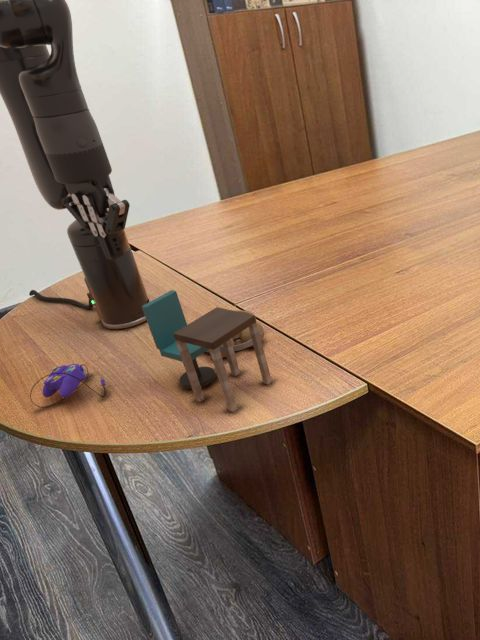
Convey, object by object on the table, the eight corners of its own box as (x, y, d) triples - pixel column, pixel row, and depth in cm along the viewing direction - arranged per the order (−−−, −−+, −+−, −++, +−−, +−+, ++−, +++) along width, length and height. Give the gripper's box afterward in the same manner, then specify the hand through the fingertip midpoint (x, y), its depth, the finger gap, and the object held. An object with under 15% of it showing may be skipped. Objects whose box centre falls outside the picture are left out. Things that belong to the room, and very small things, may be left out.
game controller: (11, 388, 103) (63, 348, 109) (49, 424, 107) (97, 383, 114) (35, 388, 97) (89, 345, 103) (74, 427, 101) (124, 383, 107)
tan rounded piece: (242, 305, 126) (269, 319, 114) (249, 328, 128) (277, 344, 116) (183, 324, 120) (206, 341, 109) (192, 348, 122) (215, 368, 110)
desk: (196, 401, 104) (172, 333, 97) (236, 371, 111) (216, 306, 104) (233, 412, 101) (211, 343, 94) (272, 381, 107) (254, 315, 101)
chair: (169, 384, 108) (141, 306, 100) (197, 366, 112) (171, 289, 105) (198, 393, 105) (170, 313, 98) (224, 373, 110) (201, 295, 102)
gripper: (126, 140, 93) (163, 253, 102) (67, 136, 99) (107, 243, 108) (79, 154, 88) (123, 272, 97) (20, 149, 93) (66, 261, 102)
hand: (115, 256), depth 102 cm, fingers closed
